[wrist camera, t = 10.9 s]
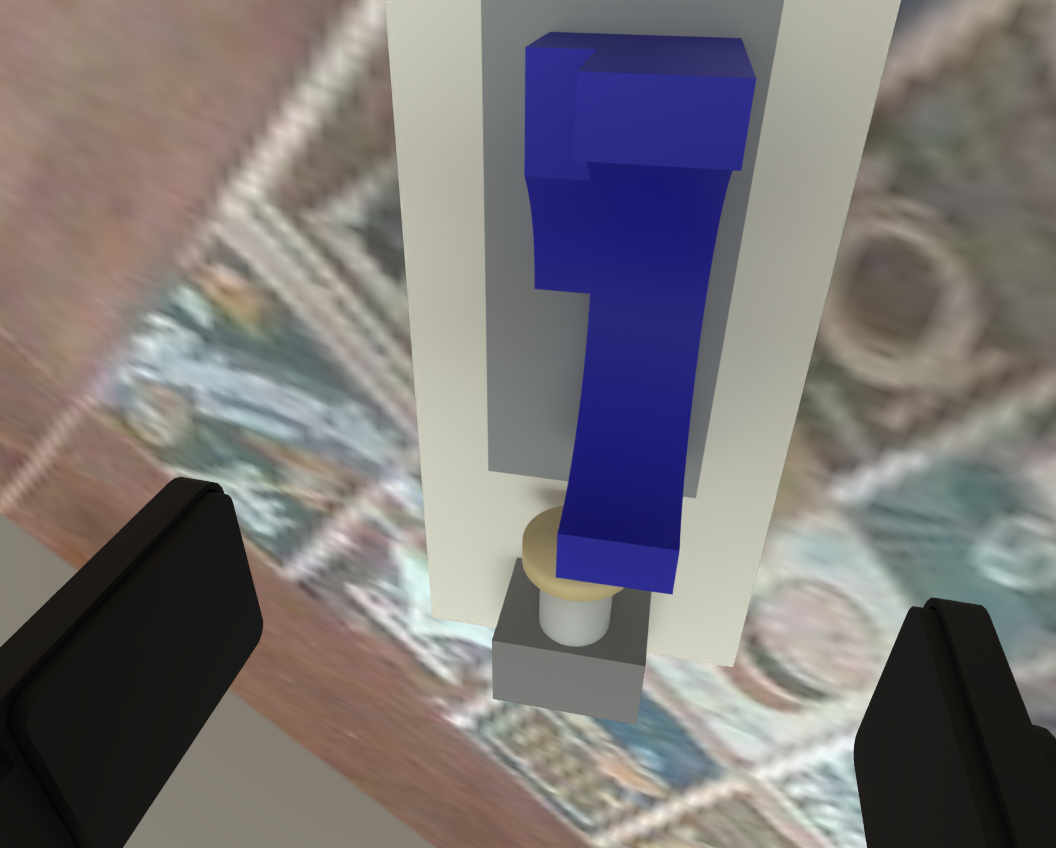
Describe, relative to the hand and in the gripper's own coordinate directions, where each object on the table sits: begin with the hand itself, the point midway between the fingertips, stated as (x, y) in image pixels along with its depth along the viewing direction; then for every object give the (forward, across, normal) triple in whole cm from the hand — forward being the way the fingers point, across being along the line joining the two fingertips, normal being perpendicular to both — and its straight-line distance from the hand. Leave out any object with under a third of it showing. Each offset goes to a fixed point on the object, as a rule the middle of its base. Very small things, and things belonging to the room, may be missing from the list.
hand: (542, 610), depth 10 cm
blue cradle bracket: (+13, 0, 0) cm, 13 cm away
